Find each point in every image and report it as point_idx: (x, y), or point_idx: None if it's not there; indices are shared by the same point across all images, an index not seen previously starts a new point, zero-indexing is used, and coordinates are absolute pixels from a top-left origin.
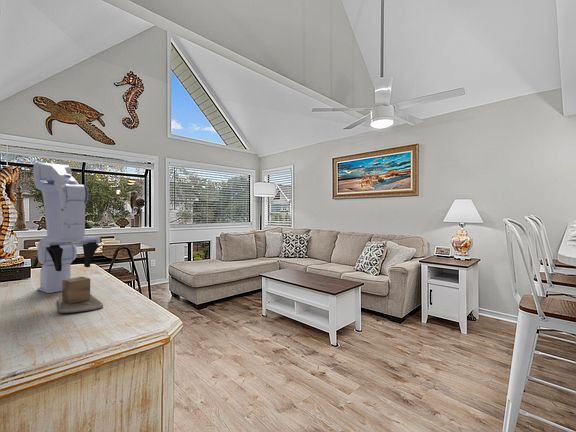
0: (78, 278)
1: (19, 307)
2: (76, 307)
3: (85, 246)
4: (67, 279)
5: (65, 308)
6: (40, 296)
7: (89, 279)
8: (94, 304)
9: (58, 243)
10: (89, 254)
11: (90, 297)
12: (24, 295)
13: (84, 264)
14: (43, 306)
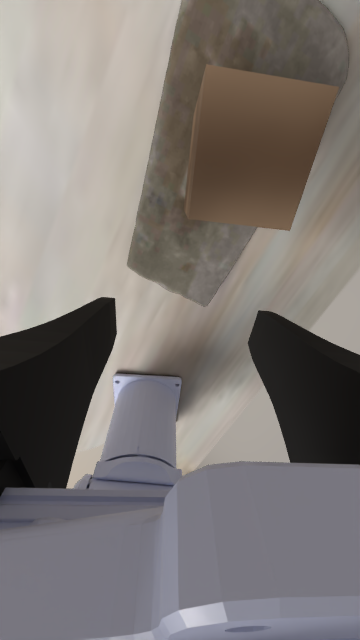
0: (236, 169)
1: (291, 312)
2: (294, 42)
3: (51, 465)
4: (280, 204)
5: (323, 77)
6: (204, 369)
7: (212, 66)
8: (220, 11)
9: None
10: (73, 333)
11: (162, 180)
12: (214, 400)
13: (113, 340)
14: (267, 266)
